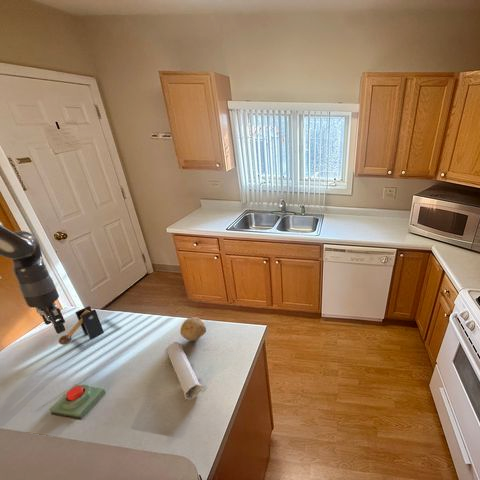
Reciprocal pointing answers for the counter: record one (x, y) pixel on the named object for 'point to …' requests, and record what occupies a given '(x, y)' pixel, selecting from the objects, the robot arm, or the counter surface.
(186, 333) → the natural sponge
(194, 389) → the tube
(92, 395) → the button block
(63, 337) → the switch lever
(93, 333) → the bracket
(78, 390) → the button
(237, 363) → the counter surface
